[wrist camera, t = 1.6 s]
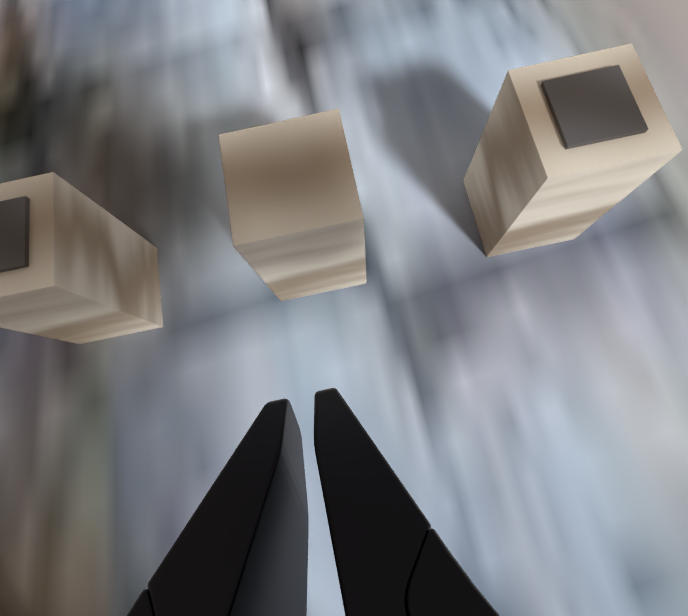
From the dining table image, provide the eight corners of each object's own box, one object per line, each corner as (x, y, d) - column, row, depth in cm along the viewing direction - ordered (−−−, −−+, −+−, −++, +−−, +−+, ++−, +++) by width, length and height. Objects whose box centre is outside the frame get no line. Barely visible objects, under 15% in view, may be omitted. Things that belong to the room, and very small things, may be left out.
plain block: (366, 283, 22) (363, 218, 15) (281, 301, 22) (233, 246, 15) (349, 206, 24) (338, 108, 16) (268, 223, 24) (218, 134, 16)
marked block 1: (573, 239, 22) (686, 146, 14) (486, 256, 22) (550, 174, 14) (544, 160, 23) (633, 34, 15) (462, 177, 24) (508, 62, 16)
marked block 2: (163, 326, 23) (49, 284, 15) (79, 344, 23) (-79, 310, 15) (156, 244, 24) (49, 164, 16) (77, 261, 24) (-69, 190, 16)
